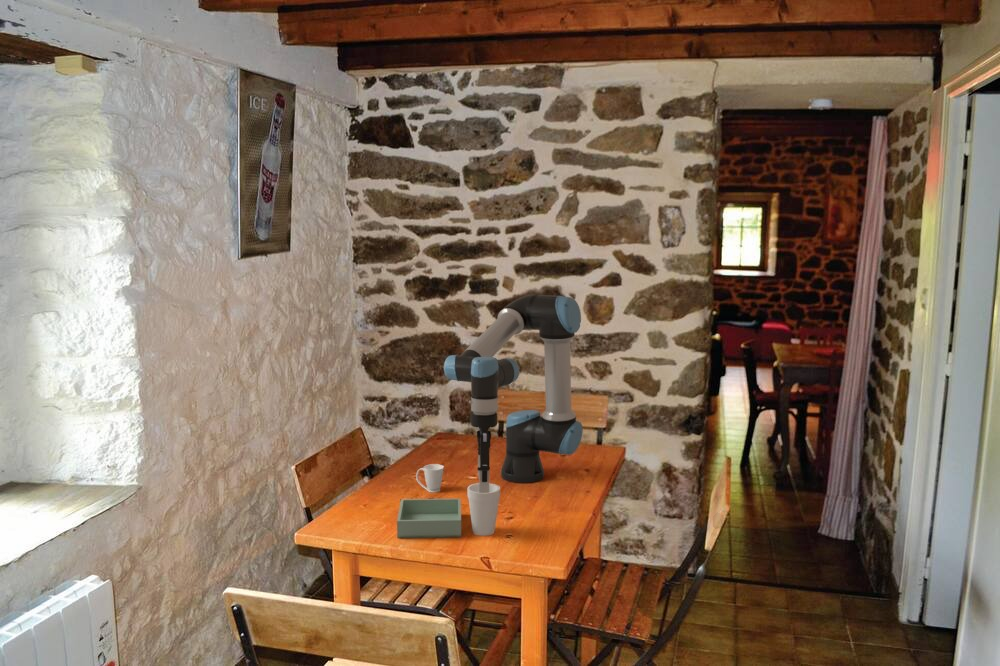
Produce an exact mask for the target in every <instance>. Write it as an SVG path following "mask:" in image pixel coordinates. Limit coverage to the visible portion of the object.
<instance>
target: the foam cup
mask: <svg viewBox="0 0 1000 666" xmlns="http://www.w3.org/2000/svg"><path fill="white" fill-rule="evenodd" d="M466 491H467V494H466V495H467V498H468V504H469V512H470V519H471V521H470V522H471V527H472V528H471V529H472V533H473V534H474V535H476V536H480V537H481V536H483V537H484V536H491V535H493V534H494V533H495V530H496V524H497V518H498V517H497V516H498V509H499V502H500V498H501V487H500V485H498V484H495V483H490V482H489V493H479V482H476V483H472V484H470V485H469V486H467V490H466Z"/></svg>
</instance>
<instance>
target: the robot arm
mask: <svg viewBox="0 0 1000 666" xmlns="http://www.w3.org/2000/svg"><path fill="white" fill-rule="evenodd" d="M581 322H582V314H581V309H580V305H579V303H578V302H577V300H575V298H573V297H570V296H563V295H548V294H545V295H544V294H527V295H523V296H522V297H521V296H520V297H519V298H517V299H515V300H513V301H511V302H510V303H508V304H507V305H506V306H504V307H503V308H502V309H501V310H500V311H499V312H498V314H497V318H496V320H494V321H493V322H492V324H490V325H489V326H488V327H487V328H486V329H485V330H484V331H483V332H482V333H481V334H480V335H479V336H478V337H477V338H476V339H475V340H474V341H473V342H472V343H471V344H470V345H469V346H468V347H467V348H466V349H465V350H464V351H463V352H462V353H461V354H459V355H458V354H452V355H449V356H447V357H446V359H445V361H444V362H443V372H444V375H445V377H446V378H447V379H448V380H453V381H457V382H465V383H470V387H471V389H470V393H471V395H470V400H468V404H470V410H471V413H470V425H471V427H474V428H478V430H477V431H476V439H477V454H478V455H477V478H478V480H479V482H478V483H479V493H489V483H490V469H491V466H490V449H491V440H492V432H491V430H489V429H490V428H491V429H492V428H495V427H496V426H498V413H497V412H498V405H499V404H498V403H499V402H498V401H499V397H498V388H501V387H504V386H509V385H511V384H512V383H514V382H515V381H517V380H518V378H519V376H520V367H519V365H518V363H517V361H515V360H514V359H513V358H509V357H507V358H505V357H503V358H501V359H497V358H496V357H494V356H495V355H496V354H497V353H498V352H499V351H500V350H501V349H502V348H503V347H504V346H505V345H506V344H507V343H508V342H509V341H510V340H511V339H512V337H513V336H514V335H518V334H520V333H521V332H523V330H524V331H525V330H533V331H534V330H535V331H539V332H538V334H539V338H540V339H541V340H542V341H543V343H544V344H543V347H544V348H543V349H544V350H543V351H544V352H543V353H544V354H543V355H544V387H545V388H544V389H545V395H544V396H545V410H544V411H543V412H542V413H541V412H540V411H539V410H536V409H525V410H517V411H514V412H511V413H510V414H508V415H507V417H506V425H505V429H506V430H505V432H506V433H505V444H506V445H505V452H506V453H505V458H504V460H503V464H502V466H501V469H500V477H501V479H503V480H504V481H507V482H512V483H517V484H519V483H520V484H528V483H529V484H530V483H535V482H539V481H541V480H543V479H544V477H545V469H544V467H543V463H542V458H541V456H540V452H541V451H542V452H547V453H551V454H557V455H558V454H559V455H561V456H562V455H566V456H567V455H568V456H571V455H574V453H576V451H577V450H578V448H579V446H580V443H581V442H582V437H583V432H584V431H583V430H584V428H583V424H582V422H581V421H579V420H577V414H576V412H575V411H574V410H573V409H572V380H571V378H572V377H571V376H572V375H571V341H572V340H573V339H574V338H575V335H576V334H575V333H577V332H579V330H580V328H581Z"/></svg>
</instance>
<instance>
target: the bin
mask: <svg viewBox="0 0 1000 666" xmlns="http://www.w3.org/2000/svg"><path fill="white" fill-rule="evenodd" d="M396 519H397V520H396V538H397V539H419V538H421V539H425V538H426V539H427V538H428V539H431V538H440V539H441V538H462V502H461V498H404V499H403V498H401V499H400V503H399V508H398V515H397V518H396Z"/></svg>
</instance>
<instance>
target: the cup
mask: <svg viewBox="0 0 1000 666" xmlns="http://www.w3.org/2000/svg"><path fill="white" fill-rule="evenodd" d="M444 468H445V466H444V465H442V464H439V463H431V464H426V465H424V466H423V467H421V468H419V469H417V471H416V473H415V478H416V482H417V483H418V485H420V486H421V487H422V488H423V489H425V491H427V492H429V493H439V492H440V491H441V486H442V483H443V474H444ZM420 471H423V473H424V480H425V484H426V486H425V485H424V484H423V483H422V482H421V481H420V479H419V472H420Z"/></svg>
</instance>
